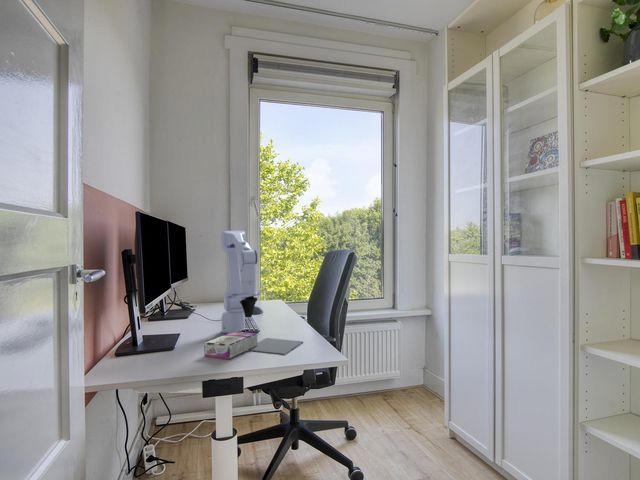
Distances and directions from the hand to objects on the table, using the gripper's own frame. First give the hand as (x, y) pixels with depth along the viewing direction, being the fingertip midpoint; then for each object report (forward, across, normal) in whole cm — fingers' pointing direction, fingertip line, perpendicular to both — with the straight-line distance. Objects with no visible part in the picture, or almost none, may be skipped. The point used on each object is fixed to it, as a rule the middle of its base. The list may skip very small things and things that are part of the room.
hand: (248, 316), depth 144 cm
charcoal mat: (+10, 0, -11) cm, 15 cm away
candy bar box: (+8, -2, 0) cm, 8 cm away
